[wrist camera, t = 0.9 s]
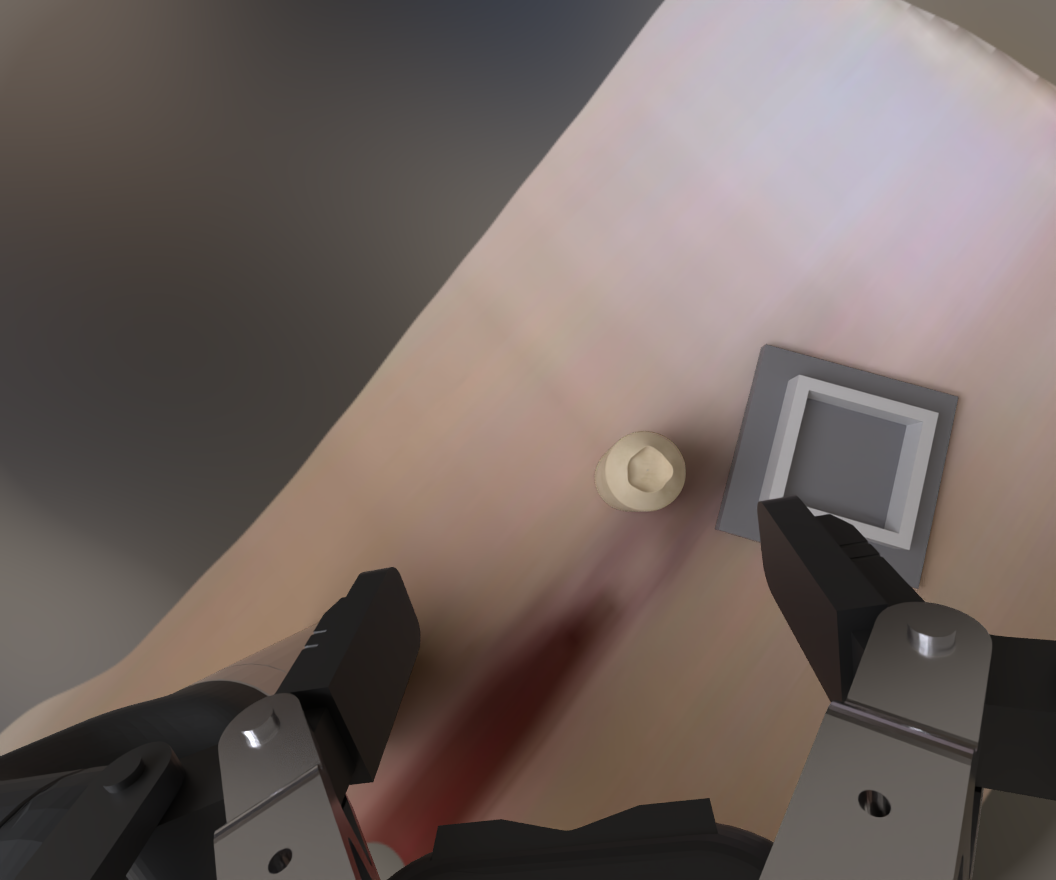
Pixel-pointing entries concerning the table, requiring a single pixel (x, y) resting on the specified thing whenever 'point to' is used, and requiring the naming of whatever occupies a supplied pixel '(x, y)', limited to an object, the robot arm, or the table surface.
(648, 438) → the candle
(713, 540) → the table surface
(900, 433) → the candle tray
